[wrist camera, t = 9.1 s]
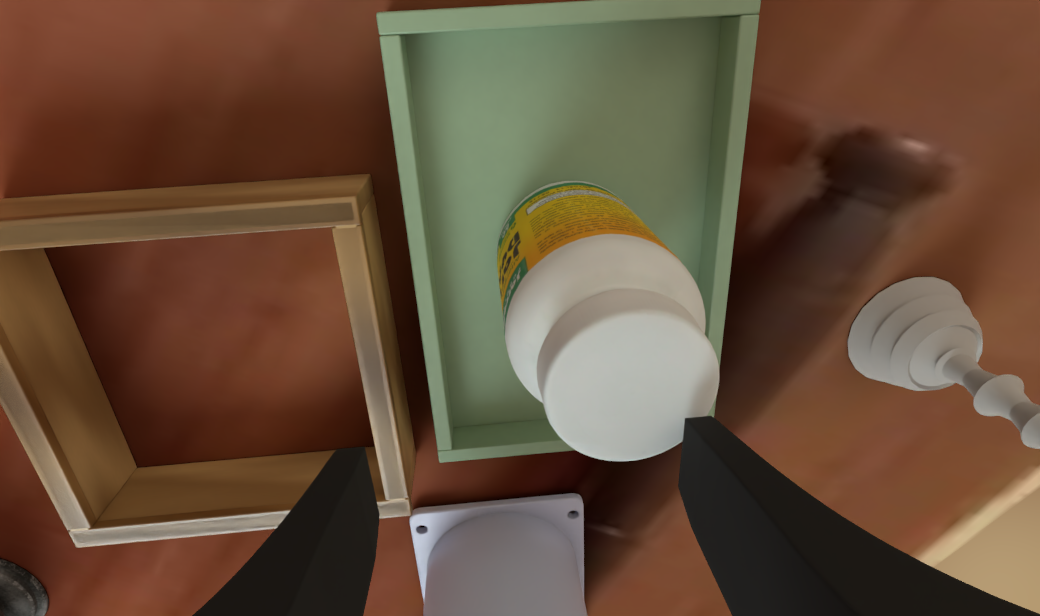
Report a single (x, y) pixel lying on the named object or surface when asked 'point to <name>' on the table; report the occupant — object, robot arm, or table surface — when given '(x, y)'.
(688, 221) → the tray
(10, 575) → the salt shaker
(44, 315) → the brown wooden square frame
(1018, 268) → the table surface
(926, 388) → the chalice
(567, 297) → the supplement bottle
